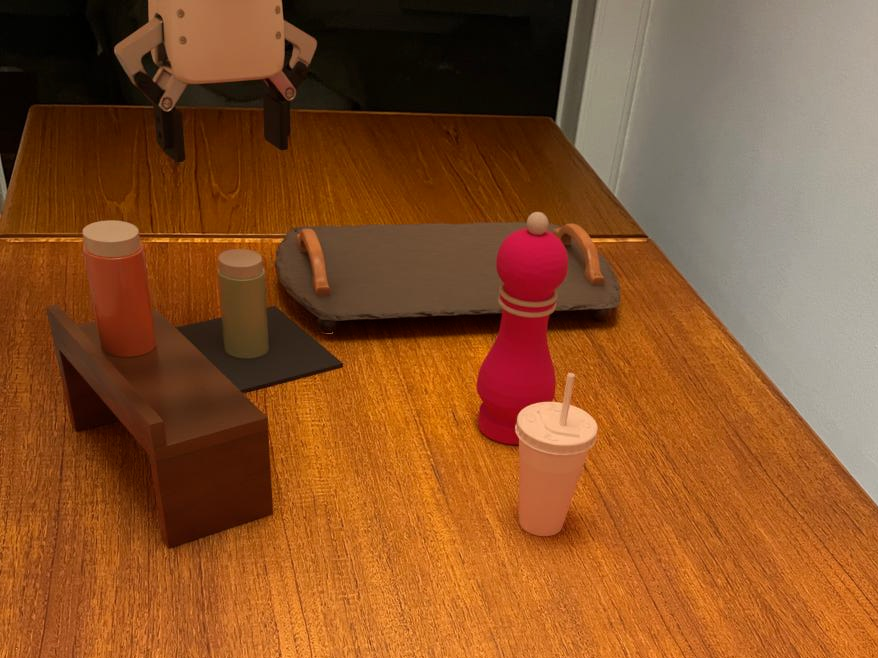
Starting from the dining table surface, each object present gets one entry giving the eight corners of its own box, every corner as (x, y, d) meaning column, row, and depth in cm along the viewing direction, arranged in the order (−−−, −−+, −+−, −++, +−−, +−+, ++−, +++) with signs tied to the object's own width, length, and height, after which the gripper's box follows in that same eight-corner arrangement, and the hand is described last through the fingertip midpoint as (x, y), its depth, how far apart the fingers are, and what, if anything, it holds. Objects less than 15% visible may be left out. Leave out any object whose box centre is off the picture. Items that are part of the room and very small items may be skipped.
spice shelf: (273, 513, 82) (266, 393, 74) (168, 548, 77) (150, 424, 70) (168, 400, 93) (152, 285, 85) (71, 425, 88) (45, 306, 81)
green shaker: (236, 362, 98) (229, 271, 92) (216, 343, 100) (207, 252, 94) (277, 353, 100) (272, 262, 94) (256, 334, 102) (250, 244, 96)
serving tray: (293, 345, 102) (291, 286, 98) (263, 250, 118) (260, 196, 114) (641, 327, 112) (652, 274, 108) (571, 242, 128) (578, 192, 124)
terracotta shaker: (113, 362, 79) (93, 246, 73) (91, 338, 82) (70, 224, 75) (166, 349, 81) (151, 236, 75) (143, 327, 84) (127, 215, 78)
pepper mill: (561, 424, 96) (598, 212, 82) (526, 457, 91) (558, 238, 78) (496, 399, 98) (521, 188, 85) (458, 430, 94) (477, 212, 80)
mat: (213, 401, 93) (212, 397, 93) (149, 336, 101) (149, 333, 101) (343, 366, 100) (343, 363, 100) (274, 308, 108) (274, 305, 107)
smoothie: (538, 555, 81) (564, 402, 71) (487, 515, 84) (505, 363, 75) (594, 529, 84) (626, 379, 75) (543, 491, 88) (567, 343, 78)
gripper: (290, -97, 82) (293, 127, 94) (79, -101, 73) (111, 146, 85) (338, -77, 78) (334, 155, 90) (121, -79, 69) (149, 178, 81)
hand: (226, 150), depth 87 cm, fingers open, 9 cm apart
